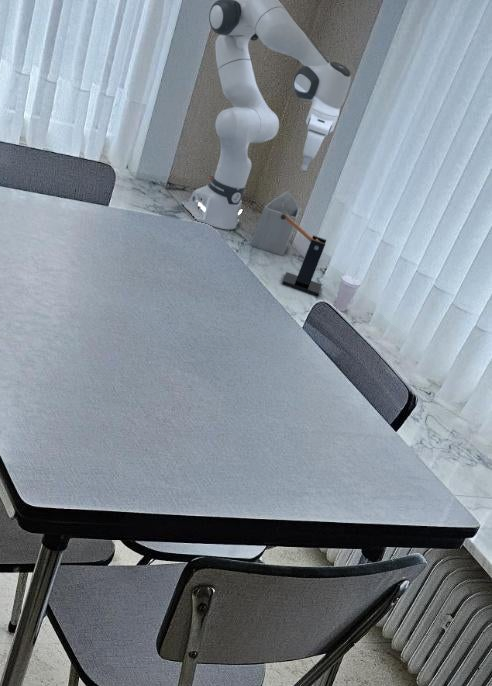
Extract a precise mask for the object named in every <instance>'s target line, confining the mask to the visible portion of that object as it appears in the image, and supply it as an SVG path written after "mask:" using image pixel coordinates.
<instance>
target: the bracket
mask: <svg viewBox="0 0 492 686" xmlns="http://www.w3.org/2000/svg"><path fill="white" fill-rule="evenodd" d="M311 237H312V238H313V239H312V240H311V242H310V241H309V242H310V243H309V244H308V247H307V250H306V253H305V256H304V258H303V261H302V263H301V266H300V269H299V271H298V274H294V273H292V272H291V273H290V272H288V271H286V272H285V274H284V278H283V281H282V283H281V284H282V285H283V286H285V287H289V288H290V289H291V288H292V289H294V290H297V291H300V292H303V293H305V294H308V295H311V296H314V297H317V298H318V297H319V295H320V292H321V290H322V289H321V288H322V283H319V282H316V281H314V280H313V278H314V274H315V272H316V269H317V268H318V264H319V262H320V259H321V256H322V254H323V252H324V249H325V248H326V247H325V246H326V243H327V239H326V238H323V237H320V236H317V235H312V236H311ZM316 239H318V240H319V241H317V240H316Z"/></svg>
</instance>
